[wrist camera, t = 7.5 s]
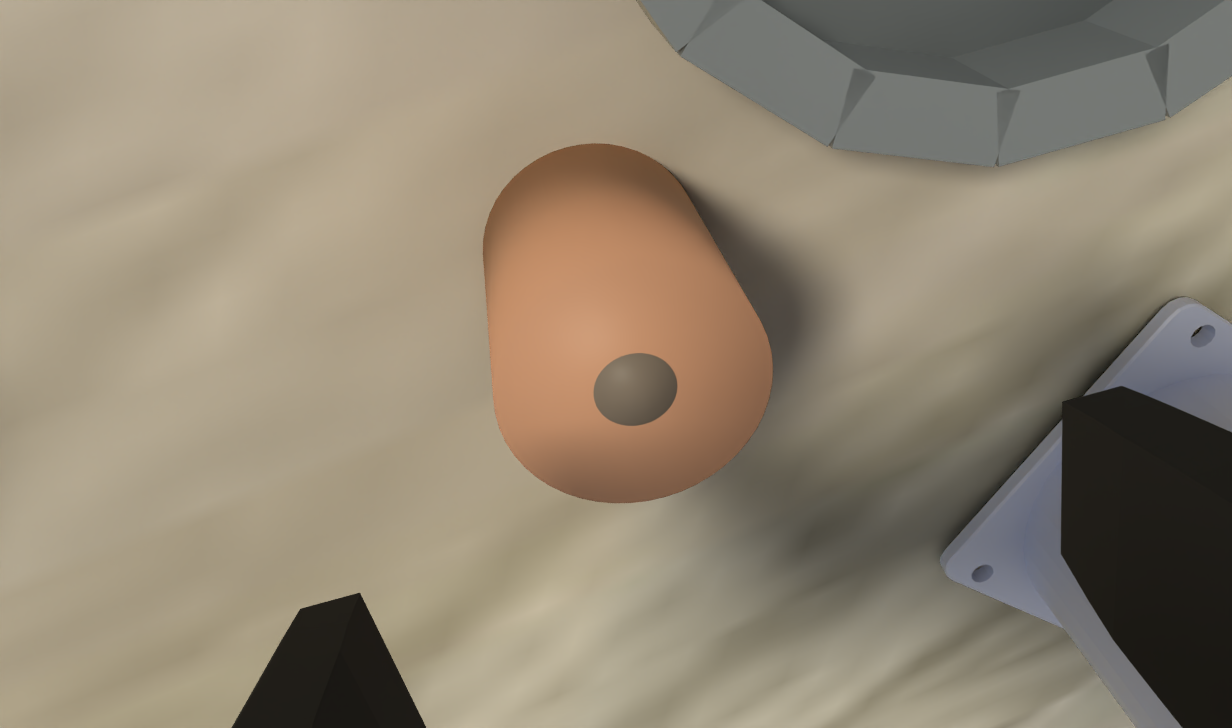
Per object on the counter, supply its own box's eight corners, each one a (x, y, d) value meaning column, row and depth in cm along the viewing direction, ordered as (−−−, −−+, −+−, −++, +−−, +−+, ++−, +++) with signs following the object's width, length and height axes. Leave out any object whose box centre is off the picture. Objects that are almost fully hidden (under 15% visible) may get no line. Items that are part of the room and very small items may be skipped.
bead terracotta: (740, 207, 19) (827, 336, 14) (627, 375, 20) (675, 537, 16) (552, 102, 17) (586, 209, 13) (444, 290, 18) (442, 444, 14)
